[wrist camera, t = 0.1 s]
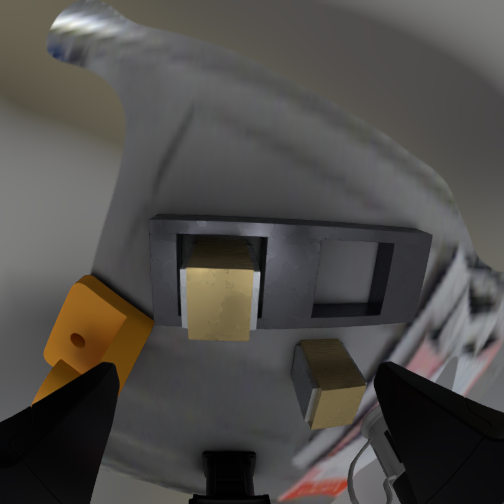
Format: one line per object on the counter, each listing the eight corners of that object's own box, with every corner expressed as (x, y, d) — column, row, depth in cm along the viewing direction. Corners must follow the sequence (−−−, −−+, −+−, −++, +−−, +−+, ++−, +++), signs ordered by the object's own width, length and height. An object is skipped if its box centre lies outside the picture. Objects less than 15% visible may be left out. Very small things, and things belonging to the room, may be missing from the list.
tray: (399, 309, 25) (412, 321, 23) (160, 310, 23) (154, 324, 21) (416, 228, 23) (432, 234, 21) (157, 214, 21) (149, 219, 19)
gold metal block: (333, 375, 27) (356, 423, 20) (289, 378, 27) (305, 430, 20) (342, 338, 26) (371, 384, 19) (296, 340, 25) (316, 391, 19)
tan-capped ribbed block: (248, 294, 24) (256, 341, 17) (192, 292, 23) (181, 338, 17) (251, 239, 22) (262, 270, 16) (192, 237, 22) (177, 267, 15)
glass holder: (401, 433, 32) (443, 507, 18) (312, 445, 30) (342, 542, 16) (429, 389, 30) (487, 465, 15) (336, 398, 28) (386, 509, 14)
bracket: (89, 266, 22) (7, 338, 11) (157, 316, 24) (116, 419, 12) (53, 343, 24) (-5, 418, 12) (109, 384, 25) (71, 472, 14)
